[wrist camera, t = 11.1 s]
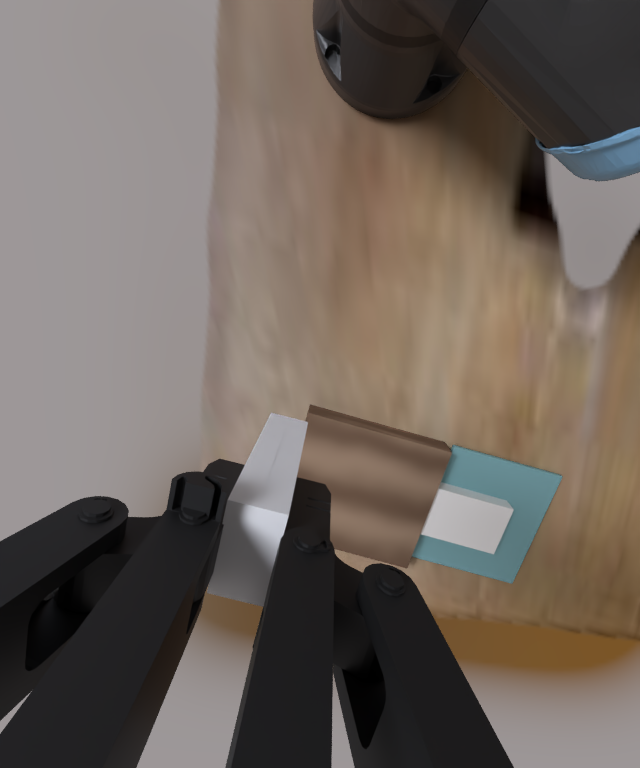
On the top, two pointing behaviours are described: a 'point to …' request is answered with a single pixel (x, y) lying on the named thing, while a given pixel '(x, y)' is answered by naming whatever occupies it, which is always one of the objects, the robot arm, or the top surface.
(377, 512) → the brown wooden flat block
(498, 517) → the white slab
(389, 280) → the top surface
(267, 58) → the top surface
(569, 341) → the top surface
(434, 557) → the mat
